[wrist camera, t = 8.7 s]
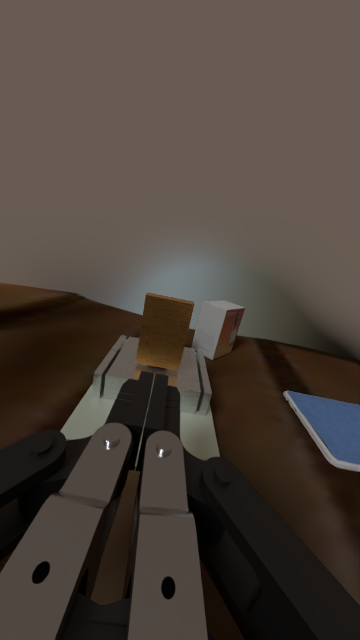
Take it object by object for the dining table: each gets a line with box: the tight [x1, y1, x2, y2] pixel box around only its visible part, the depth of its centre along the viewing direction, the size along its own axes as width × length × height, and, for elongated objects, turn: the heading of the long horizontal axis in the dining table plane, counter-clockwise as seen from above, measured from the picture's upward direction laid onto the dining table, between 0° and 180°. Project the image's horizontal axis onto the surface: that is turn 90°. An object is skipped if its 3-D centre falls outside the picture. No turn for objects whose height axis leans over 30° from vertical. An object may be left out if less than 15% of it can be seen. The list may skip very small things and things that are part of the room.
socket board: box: [60, 339, 220, 466], centre depth 26 cm, size 20×14×8 cm
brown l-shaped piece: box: [136, 293, 194, 371], centre depth 28 cm, size 13×5×8 cm, turn 179°
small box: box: [191, 300, 245, 360], centre depth 41 cm, size 8×6×10 cm
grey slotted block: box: [92, 335, 212, 416], centre depth 26 cm, size 10×12×3 cm
